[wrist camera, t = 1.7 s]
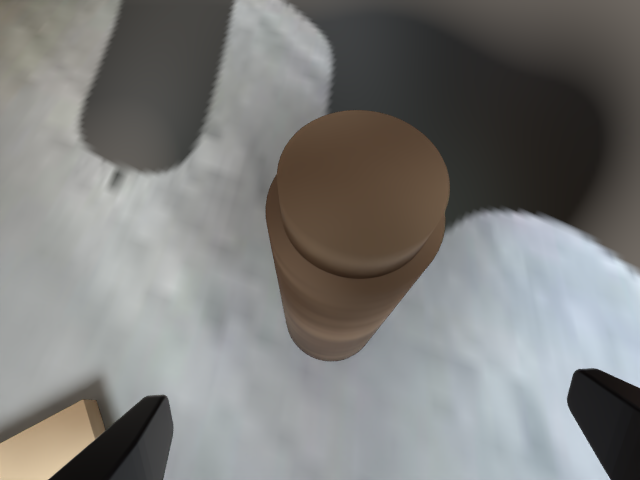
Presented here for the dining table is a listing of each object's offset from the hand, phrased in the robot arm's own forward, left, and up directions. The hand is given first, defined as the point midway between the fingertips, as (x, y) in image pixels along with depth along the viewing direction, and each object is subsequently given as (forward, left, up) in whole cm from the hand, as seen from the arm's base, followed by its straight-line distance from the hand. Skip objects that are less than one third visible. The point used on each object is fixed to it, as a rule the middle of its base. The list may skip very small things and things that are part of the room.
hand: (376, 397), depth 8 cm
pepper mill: (+4, -2, -11) cm, 12 cm away
